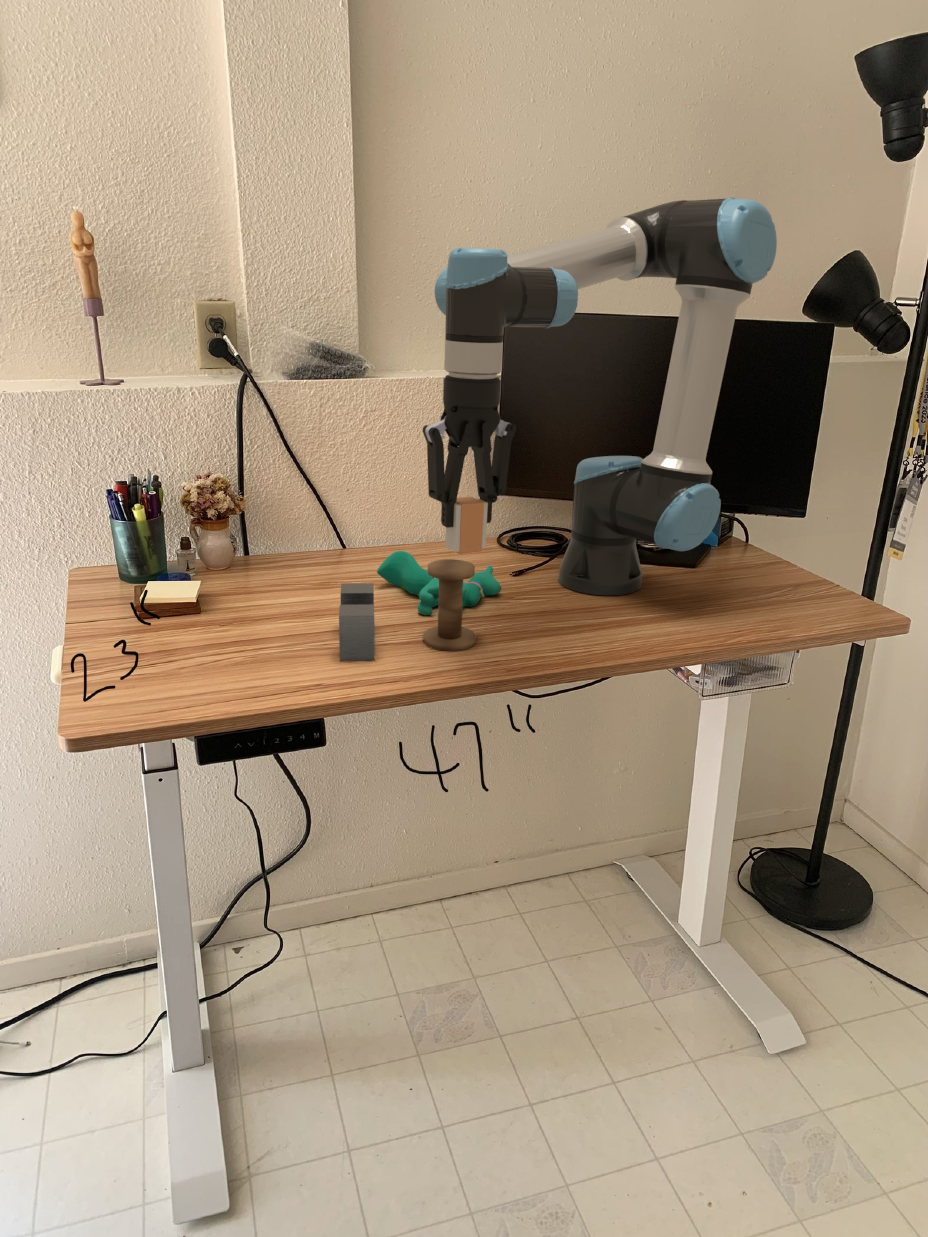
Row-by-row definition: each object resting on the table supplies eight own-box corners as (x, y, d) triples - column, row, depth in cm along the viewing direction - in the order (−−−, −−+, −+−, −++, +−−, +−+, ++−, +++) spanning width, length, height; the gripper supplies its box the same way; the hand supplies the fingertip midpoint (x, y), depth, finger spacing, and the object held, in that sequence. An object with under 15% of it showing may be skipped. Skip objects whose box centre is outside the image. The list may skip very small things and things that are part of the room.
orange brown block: (481, 551, 129) (484, 502, 126) (459, 554, 127) (462, 504, 125) (468, 544, 132) (471, 496, 129) (447, 547, 130) (449, 498, 128)
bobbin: (472, 630, 146) (475, 558, 142) (478, 650, 139) (481, 574, 134) (421, 631, 145) (422, 558, 141) (425, 651, 138) (426, 575, 134)
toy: (485, 597, 148) (511, 558, 165) (357, 572, 152) (395, 536, 170) (480, 636, 150) (506, 594, 168) (354, 610, 154) (392, 571, 172)
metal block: (373, 624, 147) (373, 583, 145) (374, 660, 134) (374, 615, 132) (342, 625, 147) (341, 583, 144) (339, 660, 134) (338, 615, 131)
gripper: (510, 370, 128) (501, 534, 136) (402, 372, 120) (400, 546, 128) (541, 376, 122) (529, 548, 130) (430, 379, 114) (425, 561, 122)
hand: (465, 547), depth 129 cm, fingers closed on orange brown block, 3 cm apart
